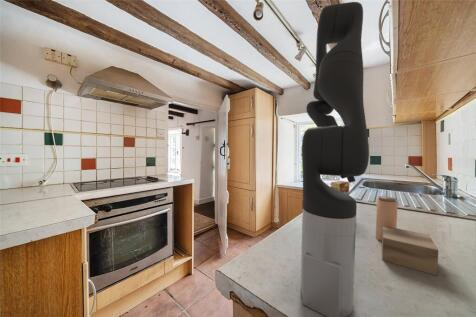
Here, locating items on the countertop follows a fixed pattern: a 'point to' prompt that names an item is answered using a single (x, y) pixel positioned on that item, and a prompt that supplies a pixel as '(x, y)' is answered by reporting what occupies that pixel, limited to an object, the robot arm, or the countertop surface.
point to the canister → (385, 214)
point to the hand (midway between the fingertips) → (348, 179)
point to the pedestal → (409, 249)
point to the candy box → (341, 186)
